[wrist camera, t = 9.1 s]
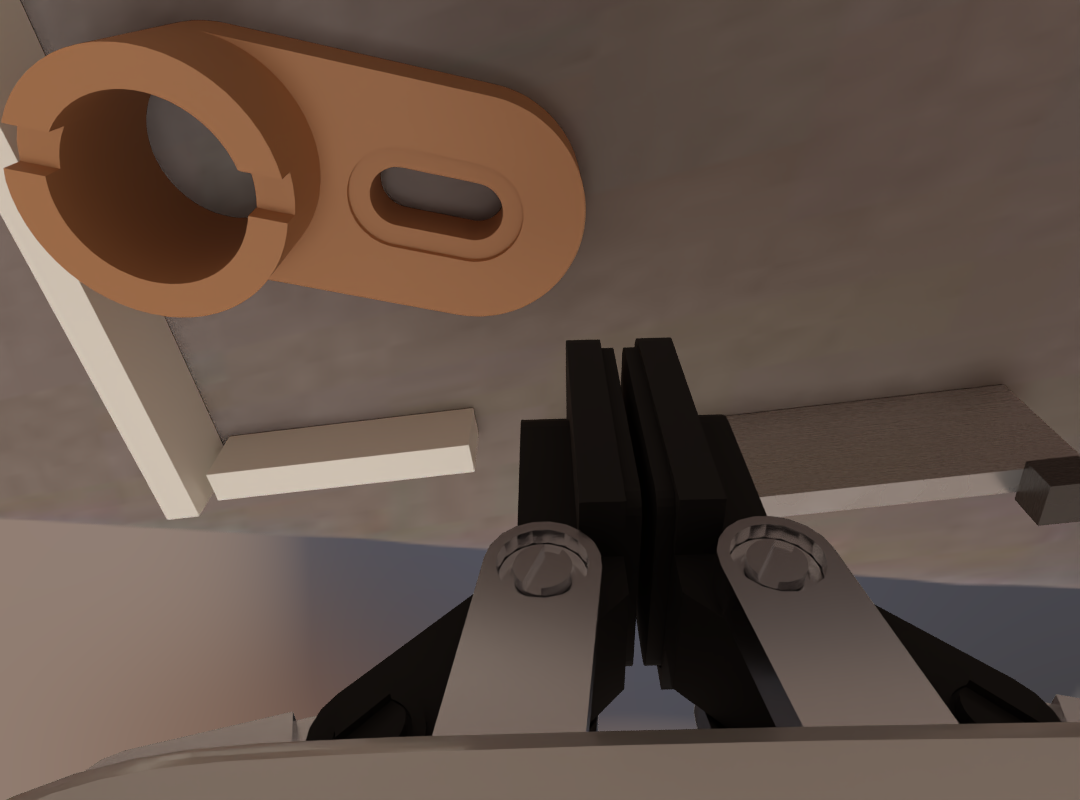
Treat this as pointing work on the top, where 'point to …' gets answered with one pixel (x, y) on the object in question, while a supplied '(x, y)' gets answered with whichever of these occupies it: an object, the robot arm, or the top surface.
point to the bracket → (288, 175)
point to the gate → (910, 454)
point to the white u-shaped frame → (172, 397)
